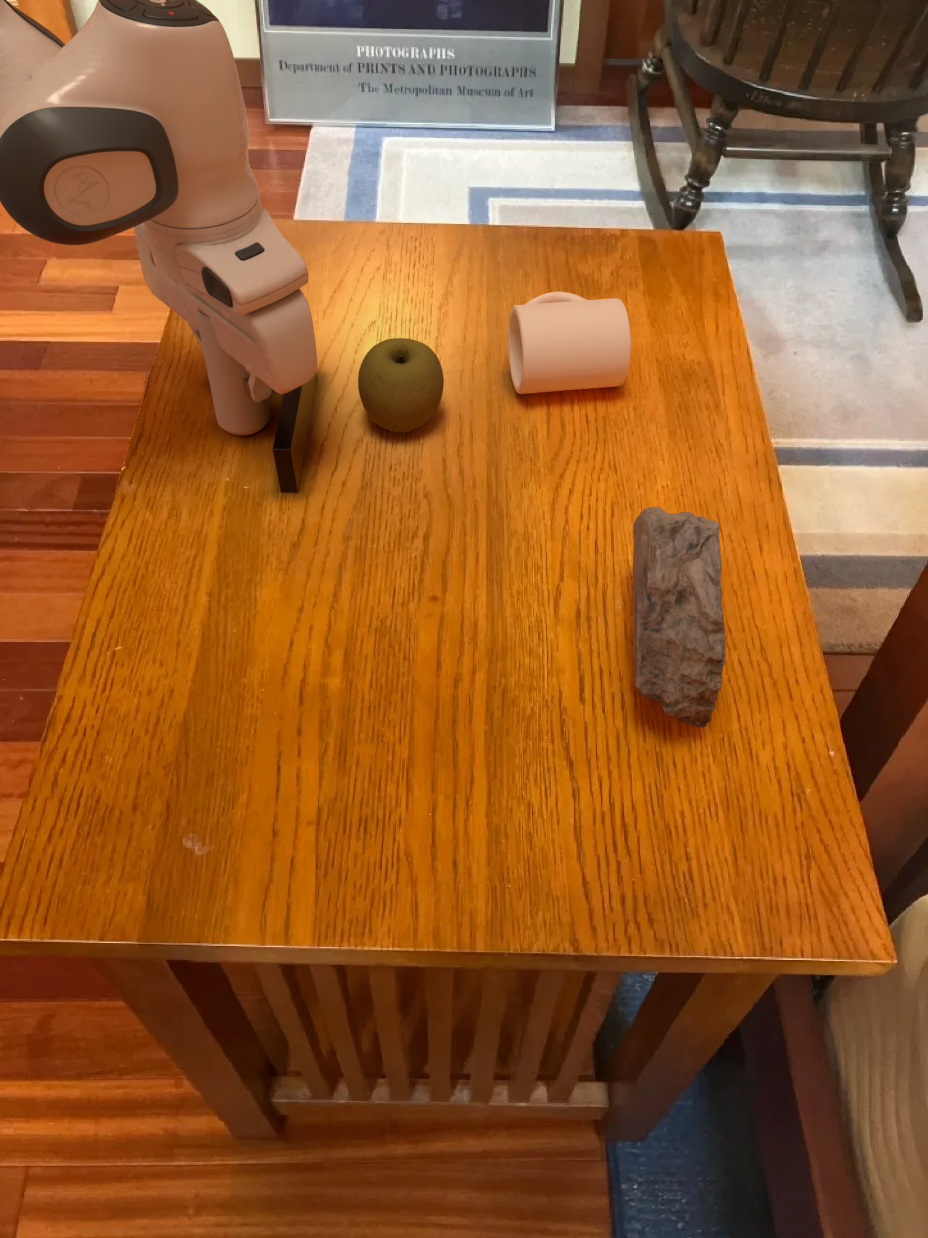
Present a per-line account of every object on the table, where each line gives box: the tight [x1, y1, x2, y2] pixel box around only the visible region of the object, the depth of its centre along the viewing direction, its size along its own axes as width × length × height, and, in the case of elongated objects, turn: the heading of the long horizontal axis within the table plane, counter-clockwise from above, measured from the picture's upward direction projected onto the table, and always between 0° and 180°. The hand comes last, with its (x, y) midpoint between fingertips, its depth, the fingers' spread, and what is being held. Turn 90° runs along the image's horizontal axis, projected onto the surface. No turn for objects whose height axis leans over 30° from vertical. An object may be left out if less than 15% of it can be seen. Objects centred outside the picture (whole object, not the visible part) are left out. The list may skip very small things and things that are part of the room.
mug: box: [507, 291, 632, 395], centre depth 88 cm, size 12×10×8 cm
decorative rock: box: [632, 505, 727, 729], centre depth 65 cm, size 16×7×15 cm, turn 173°
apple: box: [357, 337, 445, 433], centre depth 84 cm, size 8×8×7 cm
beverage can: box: [197, 309, 271, 436], centre depth 81 cm, size 5×5×12 cm
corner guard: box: [271, 371, 318, 493], centre depth 83 cm, size 10×16×5 cm, turn 179°
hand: (238, 379), depth 82 cm, fingers closed on beverage can, 5 cm apart
